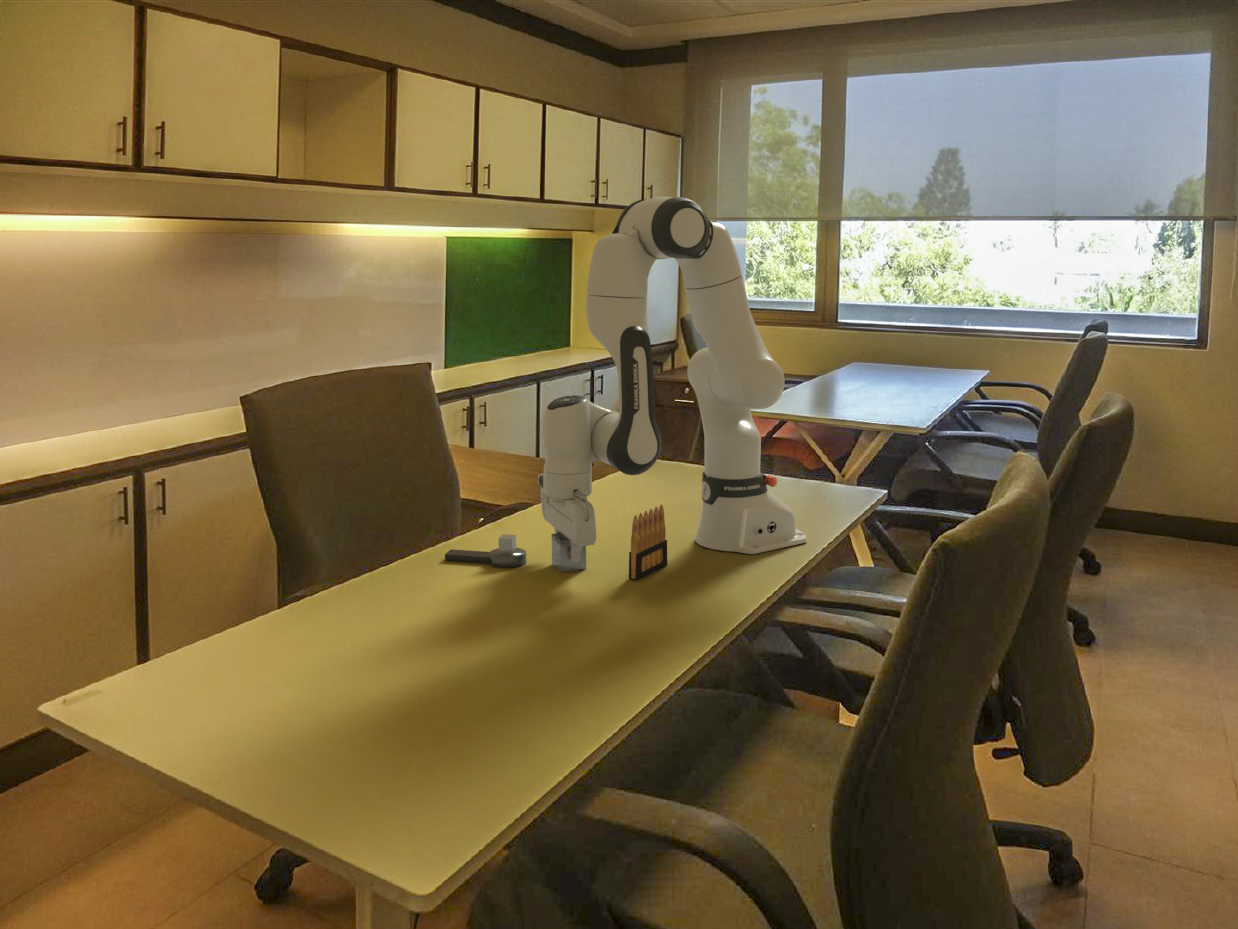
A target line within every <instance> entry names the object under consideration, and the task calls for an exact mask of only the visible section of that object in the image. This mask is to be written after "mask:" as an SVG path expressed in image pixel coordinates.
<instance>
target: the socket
mask: <svg viewBox="0 0 1238 929" xmlns="http://www.w3.org/2000/svg"><path fill="white" fill-rule="evenodd" d="M569 551H571V544H570V540H569V539H568V538H567V537H565V536H564V535H563V534H562V533H555V532H554V533H551V565H552V566H553V567H555V569H557V570H558V571H559V572H560V573H565V572H573V571H580V570H586V569H587V546H583V547H582V550H581V560H580V561H579V562H572V561H571V560H570V559H569Z"/></svg>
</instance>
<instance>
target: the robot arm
mask: <svg viewBox="0 0 1238 929" xmlns="http://www.w3.org/2000/svg"><path fill="white" fill-rule="evenodd" d="M665 259H674V260H675V261H676V262H677V264H678V265H679V268H680V270H681V273H682V280H683V284H684V290H685V293H686V297H687V302H688V303H687V304H688V307H689V311H690V316H691V320H692V324H693V326H694V329H695V331H696V332H697V334H698V335H699V336H701V338H702V340H703V341H704V343H705V346H706V347H703V348H701V349H699V350H697V351H696V352H695V353H694V354H693V355H692V356H691V358H690V360H689V362H688V364H687V373H686V374H687V378H688V379H687V380H688V382H689V384H690V386H691V387H692V389H693V390H694V394H695V396H696V400H697V404H698V407H699V413H700V417H701V421H702V422H701V423H702V427H703V434H704V435H703V437H704V471H703V472H702V473H701V474H702V477H701V501H702V506H701V515H700V520H699V523H698V525H699V526H698V529H697V532H696V535H695V539H694V540H695V543H696V544H698V545H700V546H702V547H705V548H707V549H710V550H716V551H722V552H723V551H724V552H734V553H736V552H737V553H742V554H747V555H756V554H759V553H760V554H761V553H765V552H768V551H774V550H777V549H782V548H786V547H787V548H788V547H791V546H797V545H800V544H804V543H806V542H807V535H806V534H805V533H804V532H803V531H801V530H800V529H798V528H797V527H796V522H795V516H794V513H793V511H792V508H790V507H789V506H788V505H787V504H785V502H783V501H782V500H780V499H779V498H778V497H776V496H775V495H774V494H773V493H771V492H770V491H768V487H767V486H769V487H771V488H774V487H776V486H777V485H778V482H779V481H778V479H777V477H776V476H772V475H766V474H764V473H762V472H761V448H762V446H761V445H762V443H761V442H762V437H761V434H760V431H759V429H758V427H757V426H756V424H755V420H754V418H753V415H752V412H751V410H763V409H769V408H770V407H772V406H773V405H775V404H776V403H777V402H778V401H779V399H780V398H781V397H782V394H783V392H784V390H785V389H784V388H785V385H786V384H785V383H786V382H785V381H786V380H785V374H784V371H783V369H782V368H781V366H780V365H779V364H778V363H777V362H776V361H775V359H774V358H773V357H772V355H771V354H770V352H769V350H768V348H767V347H766V345H765V342H764V341H763V340H764V339H763V338H762V336H761V334H760V332H759V329H758V327H757V325H756V323H755V320H754V317H753V315H752V312H751V308H750V306H749V305H750V304H749V300H748V295H747V291H746V286H745V282H744V278H743V274H742V272H743V271H742V268H741V263H740V260H739V257H738V254H737V251H736V248H735V245H734V243H733V240H732V237H731V235H730V233H729V231H728V229H727V227H725V225H724V224H722V223H720V222H717V221H711V220H709V218H708V216H707V214H706V212H705V210H703V208H702V207H701V206H700V205H699V204H698V203H696V202H695V201H694V200H692V199H689V198H686V197H681V196H675V197H673V196H656V197H651V198H649V199H639V200H637V201H634V202H632V203H631V204H629V205H628V206H627V207H625V208H624V209H623V211H622V212H621V213H620V214H619V217H618V220H617V221H616V225H615V227H614V229H613V230H612V233H610V234H607V235H605V236H602V237H601V238H600V239H598V240H597V242H596V243H595V245H594V247H593V251H592V255H591V259H590V264H589V270H588V278H587V284H586V286H587V287H586V303H585V304H586V305H585V306H586V307H585V308H586V312H585V313H586V320H587V325H588V330H589V332H590V334H591V335H592V336H593V338H594V339H595V340H596V341H597V342H598V343H599V344H600V345H602V346H603V348H605V350H606V351H607V352H608V353H609V355H610V357H611V358H612V359H613V362H614V365H615V368H616V371H617V376H618V380H617V381H618V403H619V404H618V405H619V410H618V411H615V410H612V409H608V408H605V407H602V406H600V405H597V404H595V403H593V402H591V401H590V400H589V399H588V398H586V397H585V396H583V395H577V394H575V395H566V396H561V397H558V398H555V399H553V400H552V401H551V402H549V403H548V404H547V407H546V408H545V413H544V418H543V430H542V433H543V435H542V440H543V441H542V442H543V443H542V444H543V450H544V453H545V461H544V464H543V473H540V474H538V476H537V485H538V486H539V487H540V502H541V503H540V504H541V512H542V516H543V519H544V521H545V522H546V523H548V524H549V525H550V526H551V527H553V528H554V534H555V533H562V534H563V535H564V536H565V537H567V538H568V539H569V540H570V544H571V551H569V559H570V560H571V561H572V562H579V561H580V560H581V550H582V547H583V546H586V547H588V546H593V545H595V543H596V541H597V528H596V527H597V526H596V515H595V514H596V513H595V508H594V505H593V504H592V502H590V501H588V496H591V495H592V493H593V481H592V480H593V478H592V477H593V476H592V472H593V471H592V466H593V463H594V462H600V461H601V462H602V463H604V464H606V465H609V466H612V467H613V468H615V469H616V470H618V471H620V472H621V473H622V474H624V475H628V476H637V475H638V476H639V475H641V474H644V473H646V472H647V471H649V470H650V469H651V468H652V467H653V466H654V465H655V464H656V462H657V461H658V458H660V457H659V456H660V454H661V451H662V436H661V433H660V429H659V427H658V423H657V420H656V413H655V389H654V364H653V362H654V361H653V359H654V358H653V349H652V345H651V338H650V335H649V328H648V312H647V311H648V309H647V308H648V279H649V275H650V271H651V269H652V267H653V265H654V264H655V262H656V260H665Z"/></svg>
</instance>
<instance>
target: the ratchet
mask: <svg viewBox="0 0 1238 929" xmlns="http://www.w3.org/2000/svg"><path fill="white" fill-rule="evenodd" d="M444 561H445V562H450V563H465V564H479V565H489V566H491V567H492V568H496V569H503V570H505V569H509V570H510V569H516V568H520V567H523V566H525V565H526V564H527V551H526V550H525V549H523V548H521V547H520V548H519V547H517V535H516V534H502V535H500V536H499V537H498V548H495V549H492V550H490V551H483V550H482V551H480V550H479V551H478V550H467V549H466V550H465V549H449V550H448V551H447V552H446V553H444Z"/></svg>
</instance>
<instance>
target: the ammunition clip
mask: <svg viewBox="0 0 1238 929" xmlns="http://www.w3.org/2000/svg"><path fill="white" fill-rule="evenodd" d="M632 519H633V520H632V524H631V525H632V526H631V527H632V529H631V537H630V551H629V552H628V555H629V556H628V557H629V558H628V579H629V580H632V581H637V582H638V581H640V580H642V579H644V578H646V577H648V576H650V575H651V574H654V573H656V572H658V571H659V570H660V571H661V570H662V569H664V568H666V567H668V540H667V539H666V523H665V522H666V521H665V511H664V506H663V504H660V505H659V508H658V506H655V507H654V508H653V509H652V508H650V509H649V510H648V511H647V510H645V511H644V514H642V512H640V513H639V515H638V516H637V515H634V516H633V518H632Z"/></svg>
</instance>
